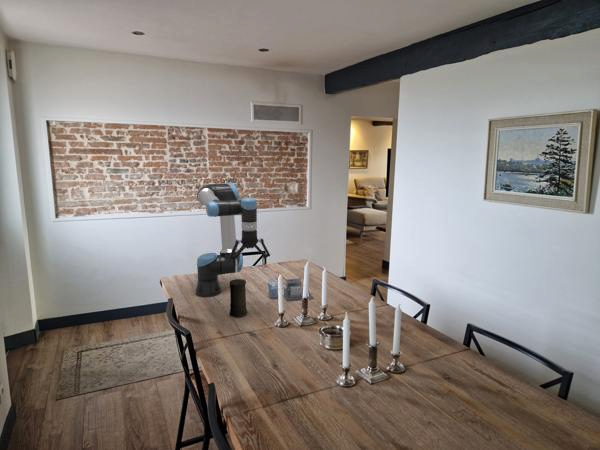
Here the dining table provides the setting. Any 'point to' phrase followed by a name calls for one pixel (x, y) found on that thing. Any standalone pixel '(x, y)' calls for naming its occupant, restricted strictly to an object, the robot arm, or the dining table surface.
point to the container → (238, 298)
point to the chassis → (294, 290)
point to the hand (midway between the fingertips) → (250, 270)
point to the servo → (272, 289)
